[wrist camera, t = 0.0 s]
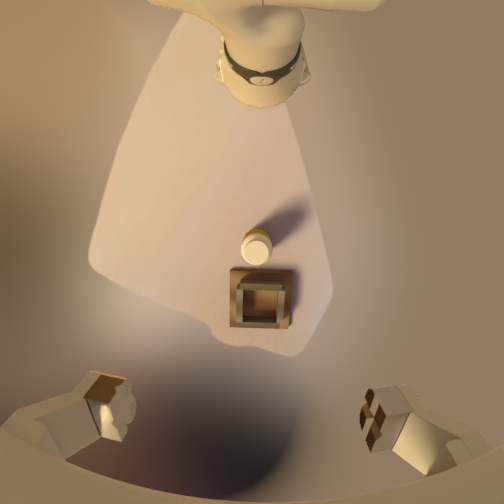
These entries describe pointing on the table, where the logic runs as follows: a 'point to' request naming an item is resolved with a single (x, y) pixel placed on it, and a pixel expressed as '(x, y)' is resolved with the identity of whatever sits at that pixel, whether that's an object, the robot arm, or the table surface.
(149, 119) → the table surface
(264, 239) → the supplement bottle
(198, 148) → the table surface
